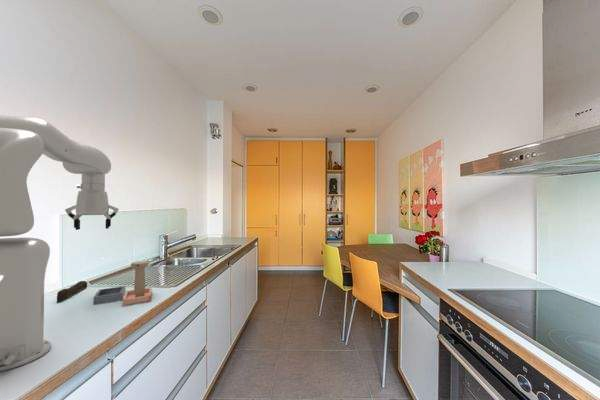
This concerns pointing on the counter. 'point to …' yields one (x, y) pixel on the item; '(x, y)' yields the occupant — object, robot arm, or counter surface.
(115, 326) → the counter surface
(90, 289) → the counter surface
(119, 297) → the collar
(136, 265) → the handle
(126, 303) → the tray
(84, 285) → the hand tool
